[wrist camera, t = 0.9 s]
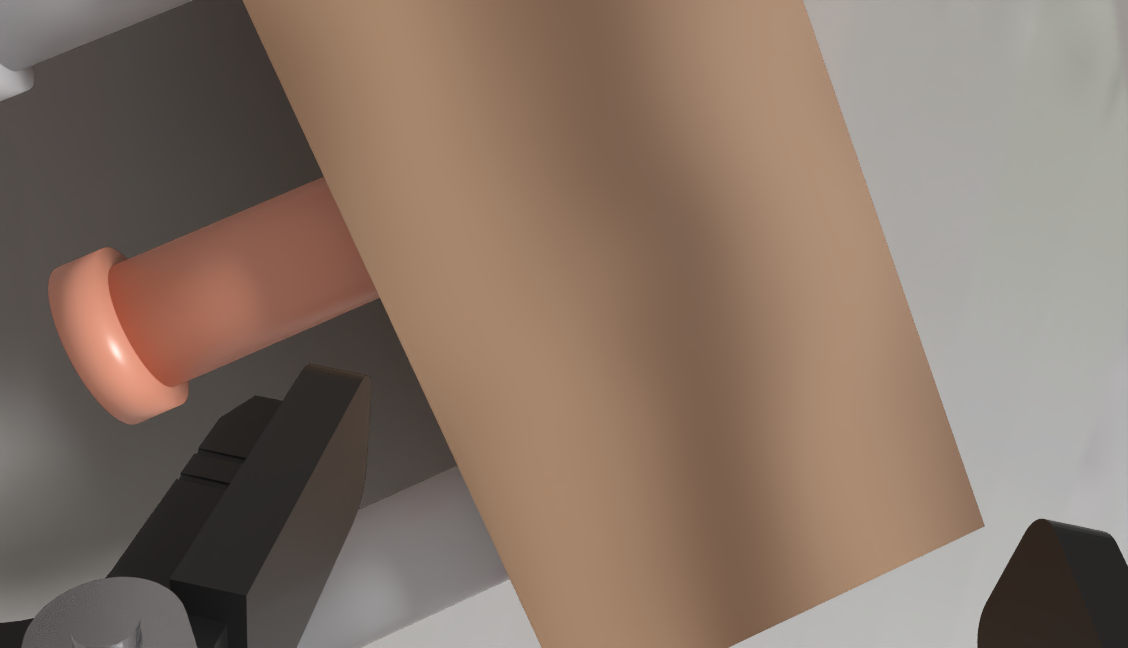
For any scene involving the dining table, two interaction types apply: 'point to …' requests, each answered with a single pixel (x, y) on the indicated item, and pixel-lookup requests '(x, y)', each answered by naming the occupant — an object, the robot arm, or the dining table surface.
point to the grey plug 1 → (60, 31)
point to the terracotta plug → (205, 299)
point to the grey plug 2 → (405, 564)
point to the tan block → (635, 299)
